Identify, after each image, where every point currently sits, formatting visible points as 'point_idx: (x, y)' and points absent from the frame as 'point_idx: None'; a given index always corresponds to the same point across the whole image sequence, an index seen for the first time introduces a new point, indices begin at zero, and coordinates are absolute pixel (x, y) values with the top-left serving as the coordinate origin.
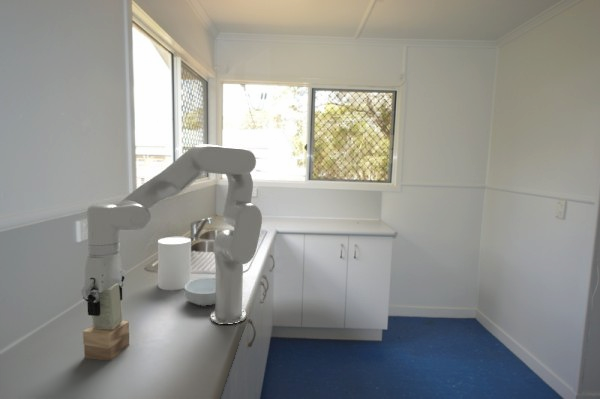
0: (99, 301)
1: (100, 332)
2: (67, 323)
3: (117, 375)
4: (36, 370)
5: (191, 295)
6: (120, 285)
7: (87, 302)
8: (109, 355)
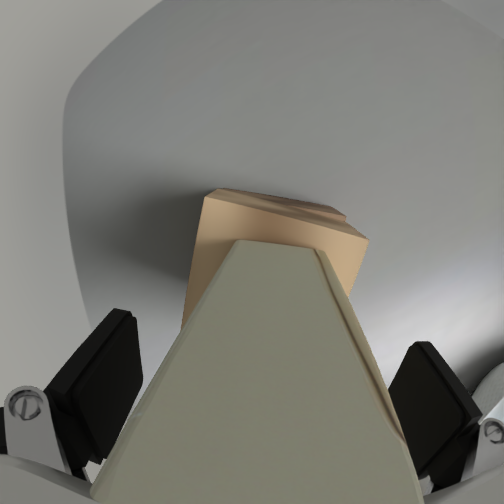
0: (94, 462)
1: (198, 296)
2: (439, 29)
3: (147, 331)
4: (148, 80)
5: (490, 400)
6: (425, 494)
7: (57, 375)
8: None
